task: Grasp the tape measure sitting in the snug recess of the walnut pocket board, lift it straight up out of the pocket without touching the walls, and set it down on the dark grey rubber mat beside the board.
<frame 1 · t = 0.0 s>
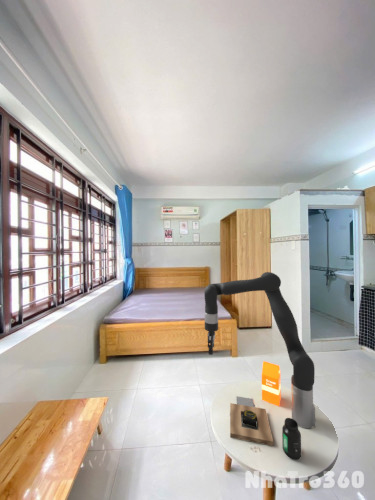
hand: (211, 350, 105), 29 cm above the table, fingers open, 8 cm apart
mat: (245, 403, 105), on the table
tape measure: (250, 424, 92), resting in pocket board
pocket board: (249, 423, 92), on the table
supplement bottle: (291, 452, 79), on the table
orange juice: (271, 399, 109), on the table
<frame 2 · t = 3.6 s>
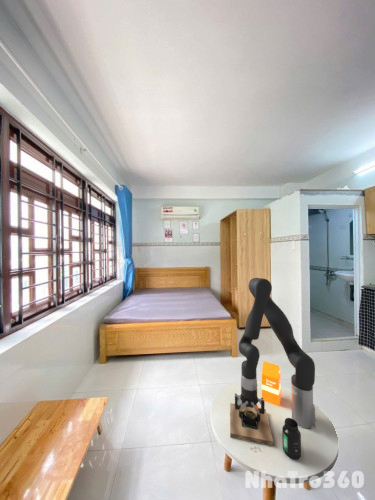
hand: (249, 419, 92), 2 cm above the table, fingers closed on tape measure, 7 cm apart
tape measure: (250, 424, 92), resting in pocket board, touching gripper
everything else where it was.
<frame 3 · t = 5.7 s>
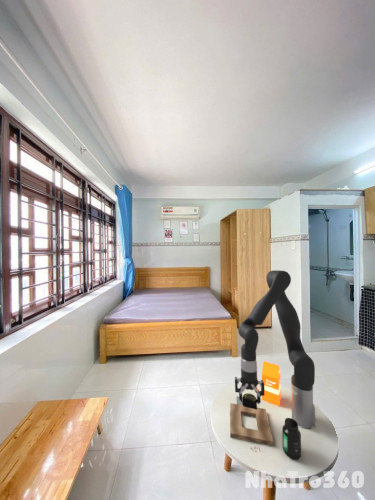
hand: (249, 401, 92), 11 cm above the table, fingers closed on tape measure, 7 cm apart
tape measure: (250, 406, 92), point 8 cm above the table, touching gripper
everything else where it was.
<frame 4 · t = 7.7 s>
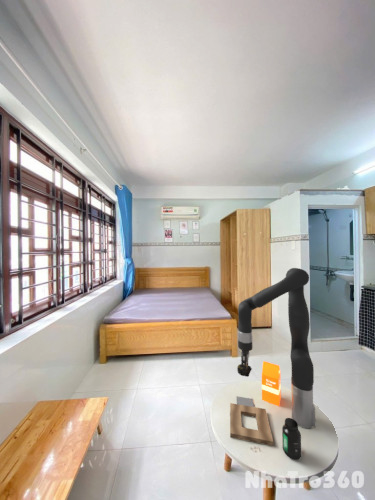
hand: (245, 370, 103), 20 cm above the table, fingers closed on tape measure, 7 cm apart
tape measure: (245, 374, 103), point 17 cm above the table, touching gripper
everything else where it was.
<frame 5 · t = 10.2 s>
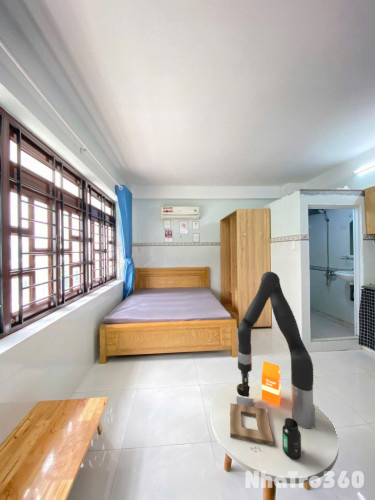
hand: (244, 390, 105), 7 cm above the table, fingers closed on tape measure, 7 cm apart
tape measure: (244, 394, 106), point 5 cm above the table, touching gripper
everything else where it was.
when the fingers open (4 cm above the table, at t = 12.1 s): tape measure stays where it is, resting on mat.
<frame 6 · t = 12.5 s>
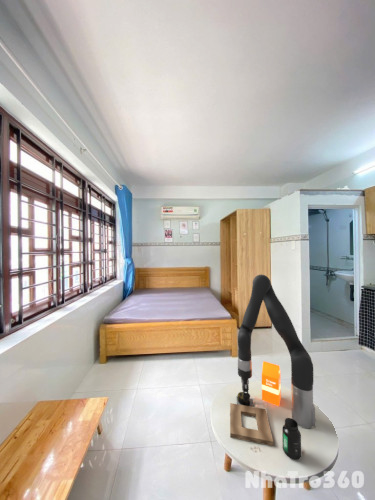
hand: (245, 396, 105), 4 cm above the table, fingers open, 8 cm apart
tape measure: (245, 402, 105), resting on mat
everything else where it was.
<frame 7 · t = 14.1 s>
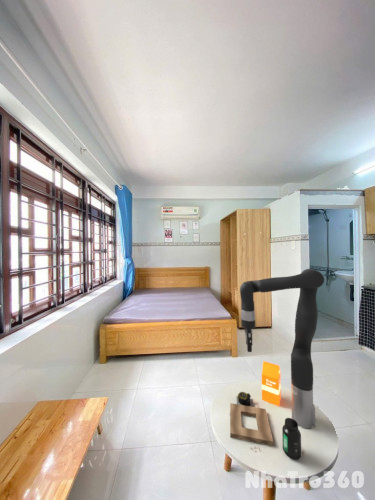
hand: (248, 347, 105), 31 cm above the table, fingers open, 8 cm apart
nothing on the table moved.
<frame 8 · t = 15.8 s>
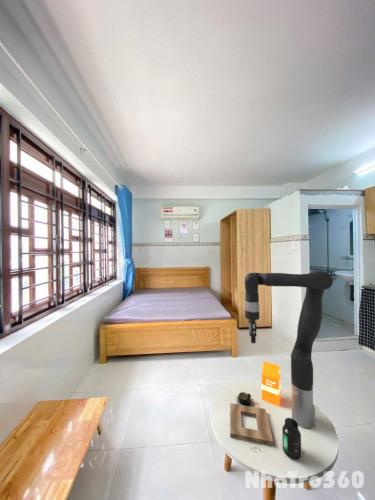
hand: (252, 339, 104), 36 cm above the table, fingers open, 8 cm apart
nothing on the table moved.
at the end: tape measure inside the target area (0.4 cm from its centre), resting on mat; tape measure touching mat; the gripper is holding nothing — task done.
